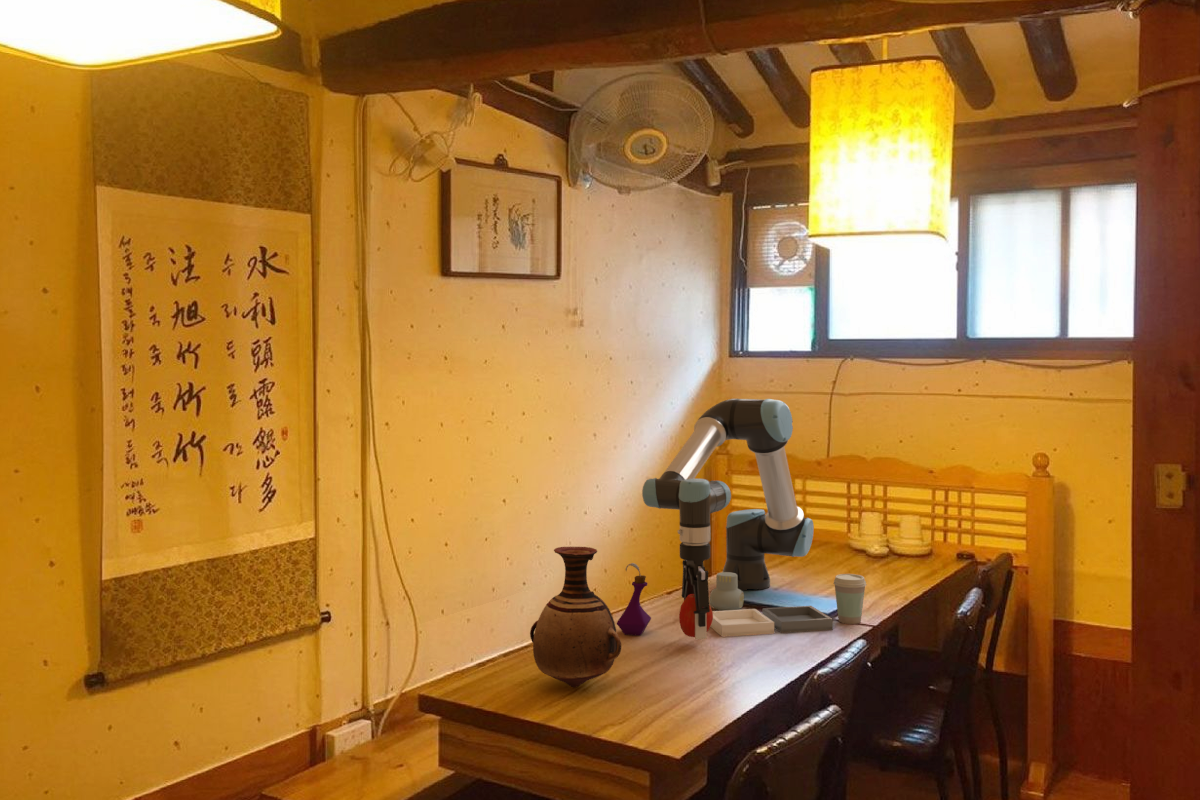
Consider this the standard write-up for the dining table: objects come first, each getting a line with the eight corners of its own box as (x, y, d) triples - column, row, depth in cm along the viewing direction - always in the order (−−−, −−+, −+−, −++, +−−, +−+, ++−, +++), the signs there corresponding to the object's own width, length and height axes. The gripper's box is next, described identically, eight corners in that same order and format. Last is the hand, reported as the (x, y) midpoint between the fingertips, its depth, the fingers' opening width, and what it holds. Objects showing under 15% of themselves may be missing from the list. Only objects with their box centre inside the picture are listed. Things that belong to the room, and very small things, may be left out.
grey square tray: (762, 619, 277) (762, 608, 277) (810, 616, 280) (811, 605, 280) (781, 633, 264) (781, 621, 263) (832, 629, 266) (832, 618, 266)
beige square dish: (705, 622, 274) (705, 611, 274) (755, 619, 277) (755, 608, 277) (722, 636, 260) (722, 625, 260) (774, 633, 263) (774, 622, 263)
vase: (511, 684, 224) (510, 548, 222) (572, 666, 236) (572, 537, 235) (579, 708, 209) (578, 562, 207) (640, 687, 221) (640, 549, 220)
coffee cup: (866, 626, 270) (867, 581, 269) (833, 624, 271) (833, 579, 271) (865, 617, 278) (865, 574, 278) (832, 616, 280) (833, 572, 279)
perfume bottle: (651, 630, 267) (651, 561, 266) (645, 638, 259) (644, 567, 259) (623, 628, 269) (623, 560, 268) (616, 635, 261) (616, 565, 261)
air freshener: (737, 615, 281) (737, 579, 281) (708, 613, 284) (708, 577, 284) (745, 606, 292) (745, 571, 291) (716, 603, 294) (716, 569, 294)
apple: (717, 633, 254) (717, 590, 254) (703, 641, 247) (703, 598, 247) (687, 628, 259) (687, 586, 258) (673, 637, 252) (672, 594, 251)
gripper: (668, 535, 261) (669, 623, 263) (692, 552, 241) (693, 647, 242) (697, 533, 263) (697, 621, 264) (723, 550, 242) (723, 645, 244)
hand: (695, 633), depth 253 cm, fingers closed on apple, 8 cm apart
